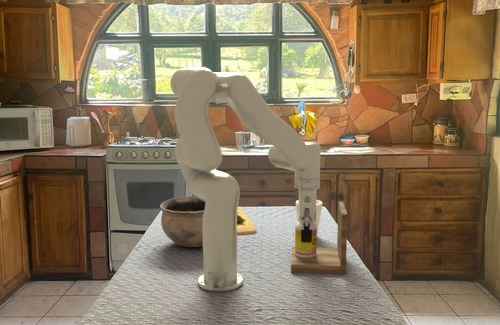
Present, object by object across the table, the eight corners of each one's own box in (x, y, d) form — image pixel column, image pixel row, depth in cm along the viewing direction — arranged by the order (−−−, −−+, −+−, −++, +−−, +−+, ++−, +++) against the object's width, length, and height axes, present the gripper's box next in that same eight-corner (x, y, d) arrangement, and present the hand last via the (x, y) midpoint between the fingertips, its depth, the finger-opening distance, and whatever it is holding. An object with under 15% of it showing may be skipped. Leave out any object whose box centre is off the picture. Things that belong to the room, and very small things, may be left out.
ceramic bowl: (235, 248, 171) (235, 205, 169) (174, 259, 161) (173, 213, 159) (208, 231, 191) (208, 192, 188) (153, 240, 180) (151, 199, 178)
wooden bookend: (345, 274, 148) (347, 214, 145) (290, 272, 150) (291, 213, 147) (341, 255, 164) (343, 201, 161) (292, 254, 166) (292, 200, 163)
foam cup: (291, 238, 182) (291, 203, 180) (301, 231, 190) (301, 198, 188) (316, 242, 178) (317, 206, 175) (325, 235, 186) (325, 200, 184)
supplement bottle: (314, 259, 153) (315, 218, 151) (293, 257, 155) (293, 217, 153) (317, 252, 159) (318, 213, 157) (297, 250, 161) (297, 211, 159)
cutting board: (187, 214, 218) (187, 197, 217) (241, 211, 222) (241, 194, 221) (194, 238, 184) (194, 218, 183) (257, 235, 188) (257, 215, 187)
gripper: (320, 189, 144) (319, 246, 147) (318, 177, 161) (317, 229, 164) (294, 188, 145) (293, 245, 148) (295, 177, 162) (294, 229, 165)
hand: (306, 237), depth 156 cm, fingers open, 9 cm apart
